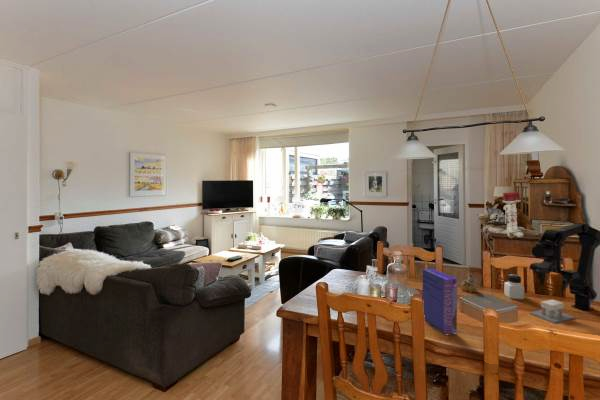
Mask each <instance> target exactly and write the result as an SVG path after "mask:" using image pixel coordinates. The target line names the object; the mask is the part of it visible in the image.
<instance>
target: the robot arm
mask: <svg viewBox="0 0 600 400" xmlns="http://www.w3.org/2000/svg"><path fill="white" fill-rule="evenodd" d="M574 235H576V236H577V237H578V242H579V244H580V246H581V248H580V254H579V259H578V264H577V269H576V270H573V269H566V270H564V269H563V268H564V267H563V266H562V261H564V258H563V257H562V247H565V246H566V245H565V244H564V243H563V242H566V241H567V238H569V237H572V236H574ZM599 246H600V231H599V230H598V229H596V228H594V227H592V226H590V225H589V224H587V223H584V222H574V224H571V225H568V226H567V225H566V226H564V227H561V228H548V229H546V230H544V232H543V233H542V235H541V237H540V238H539V241H538V243H536V244H535V246H533V247H532V249H531V253H532V255H533V256H534V258H537V259H543V261H541V262H533V263H532V262H531V263H530V265H529V270H532V272H534V273H535V274H537V277H538V279H539V281H540V284H541V286H544V285H545V282H546V275H549V274H551V273H556V274H560V275H561V281H562V284H561V287H562V288H561V290H562V291H563V292H565V291H566V289H567V288H569V292H570V294H572V295H575V297H574V304H572V305H571V307H573V308H576V309H579V310H581V311H585V312H587V311H591V310H594V309H595V308H594V307H592V306H591V300H596V299H597V295H598V294H597V292H596V291H595V290H594V288H593V282H592V280H591V278H590V277H591V276H590V275H591V271H592V267H593V265H592V264H593V263H594V262H593V261H594V257H595V256H594V255H595V251H596V249H597V248H598V247H599Z"/></svg>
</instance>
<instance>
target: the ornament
mask: <svg viewBox="0 0 600 400" xmlns="http://www.w3.org/2000/svg"><path fill="white" fill-rule="evenodd" d="M460 288H461V291H463V292H465V291H466V292H468V293H470V294H471V293H472V294H474V293H476V292H477V291H478V285H477V284H476V281H475V278H474V277H473V275H472V274H469V276H468V278H467V279H464V280H463V281H462V282H461V287H460ZM466 292H465V293H466Z"/></svg>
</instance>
